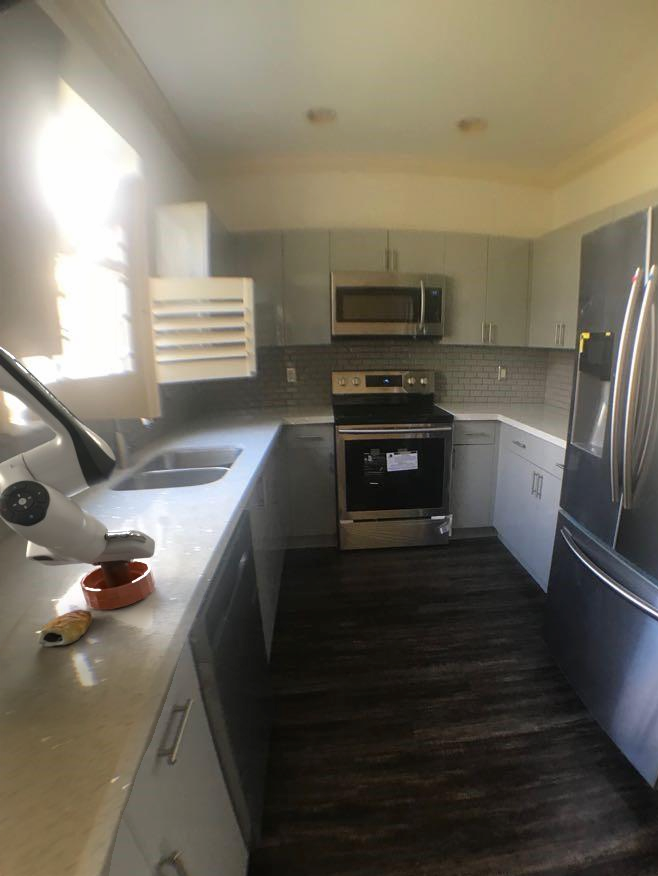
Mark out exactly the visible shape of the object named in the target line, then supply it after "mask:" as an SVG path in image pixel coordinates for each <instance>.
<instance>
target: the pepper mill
mask: <svg viewBox="0 0 658 876" xmlns="http://www.w3.org/2000/svg"><path fill="white" fill-rule="evenodd" d="M100 567H101V569H102V572H103V576H104V579H105V582H106V586H107V589H109V588H115V587H119V586H122V585H125V584H128V583H131V582H133V581H132V577H131V573H130V570H129V566H128V563H125V562H123V560H117V561H105V562H100Z"/></svg>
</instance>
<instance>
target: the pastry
mask: <svg viewBox="0 0 658 876" xmlns="http://www.w3.org/2000/svg"><path fill="white" fill-rule="evenodd" d="M92 621H93V618H92V613H91V612H90V611H89V610H85V609H84V610H83V609H75V610H72V611H70V612H67V613H64V614H62V615H59V616H57V617H56V618H52V619H50V621H49V623H46V624H44V625H43V627H41V630H40V633H39V635H38V638H37V643H38V644H39V645H41V646H42V647H44V648H49V647H52V648H53V647H56V646H66V645H69V644H72V643H75V642H76V641H77V640H79V639H80V638H81V637H82V636H83V635H85V633H87V630H88V629H89V627H90V625H91V624H92Z"/></svg>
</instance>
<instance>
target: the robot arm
mask: <svg viewBox="0 0 658 876" xmlns="http://www.w3.org/2000/svg"><path fill="white" fill-rule="evenodd" d="M0 392H4V393H7V394H9V395H12V396H13V397H15V398H16V399H18V400H19V401H20V402H21V403H22V404H23V405H25V406H26V407H27V408H28V410H29V411H31V412H32V413H33V414H34V415H35V416H36V417H37V418H38V419H40V421H42V422H43V423H44V424H45V425H46V426H47V427H48V428H49V429H50V430H51V431H52V432H54V434H56V435H55V437H54V438H53V439H52V440H49V441H47V442H45V443H43V444H40V445H38V446H36V447H34V448H32V449H30V450H27V451H26V452H22V453H19V454H17V455H15V456H12V457H10V458H8V459H6V460H5V461H2V462H1V463H0V518H1V519H2V520H3V522H4V523H5V524H6V525H7V526H8V527H9V528H10V529H12V530H13V531H14V532H15V533H17V534H18V535H19V536H21V537H22V538H24V539H25V540H27V545H26V553H25V558H26V559H27V560H29V561H32V562H33V561H34V562H37V563H39V564H41V565H43V566H48V567H49V566H51V567H56V566H66V565H79V564H88V565H92V566H94V567H97V566H98V567H101V565H100V562H105V561H117V560H123V562H125V563H133V562H134V560H142V559H151V558H152V557H154V555H155V550H156V541H155V539H153V538H152V537H151V536H149V535H147V534H146V533H144V532H143V531H139V530H136V529H125V530H124V529H123V530H108V528H107V526H106V525H105V524H104V523H103V522H102V521H101V520H99V519H97V518H96V516H94V515H93V514H92V513H90V512H88V511H87V510H85V509H82V507H81V506H80V505H79V504H78V503H77V502H76V501H74V500H73V499H72V498H71V497H73V496H75V495H78V494H80V493H81V492H84V491H85V490H87V489H89V488H91V489H92V488H94V487H96V486H100V485H101V484H105V483H106V482H109V481H110V480H111V478H112V477H113V475H114V472H115V470H116V467H117V464H118V463H117V462H118V461H117V458H116V455H115V454H114V452H113V450H112V448H111V447H110V446H109V444H108V443H107V442H106V440H104V439H103V438H101V437H100V436H99V435H98V434H96V433H95V432H94V431H92V430H91V429H90V428H89V427H88V426H87V425H85V423H83V422H82V420H80V419H79V418H78V417H77V416H76V415H75V414H74V413H73V412H72V411H71V410H70V409H69V408H68V407H67V406H66V405H65V404H64V403H62V401H61V400H60V399H58V397H57V396H56V395H54V394H53V393H52V391H51V390H49V388H47V387H46V386H45V385H44V384H43V383H42V382H41V381H40V380H39V379H38V378H37V377H36V376H35V375H34V374H33V373H32V372H31V371H30V370H29V369H27V368H26V367H25V366H24V365H23V364H22V363H21V362H20V361H19V360H18V359H17V358H15V357H14V356H13V355H12V354H11V353H10V352H8V351H7V350H5V349H4V348H2V347H1V346H0Z"/></svg>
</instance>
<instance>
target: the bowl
mask: <svg viewBox="0 0 658 876" xmlns="http://www.w3.org/2000/svg"><path fill="white" fill-rule="evenodd" d="M128 566H129V570H130V573H131V577H132V581H133V582H131V583H128V584H125V585H122V586H119V587H115V588H109V589H107V586H106V582H105V579H104V576H103V572H102V569H101V566H98V567H97V568H95V569H93V570H91V571H89V572H88V573H86V574H85V575H84V576H83V577H82V578H81V580H80V582H79V583H80V587H81V590H82V594H83V597H84V600H85V603H86V606H88V607H90V608H91V609H95V610H112V609H118V608H123V607H126V606H129V605H132V604H135V603H137V602H138V601H141V600H143V599H144V598H146V597H147V596H148V595H150V594H151V593H152V592H153V591H154V590H155V587H156V582H155V576H154V573H153V570H152V566H151V564H150V563H149V562H147V561H145V560H143V559H134V562H133V563H128Z"/></svg>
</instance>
